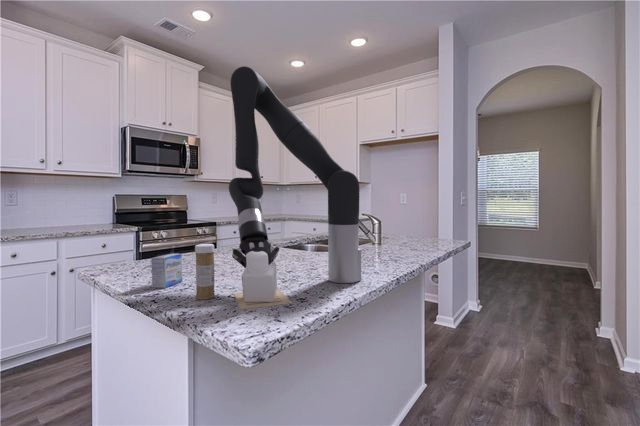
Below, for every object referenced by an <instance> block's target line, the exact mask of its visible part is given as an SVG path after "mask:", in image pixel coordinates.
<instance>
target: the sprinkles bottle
mask: <svg viewBox="0 0 640 426" xmlns="http://www.w3.org/2000/svg"><path fill="white" fill-rule="evenodd" d="M194 252H195V286H196V288H195V289H196V291H195V292H196V295H195V298H196V299H197V300H201V301H202V300H203V301H204V300H205V301H206V300H211V299H214V297H216V294H215V245H214V244H213V243H200V244H196V245H195V246H194Z"/></svg>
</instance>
